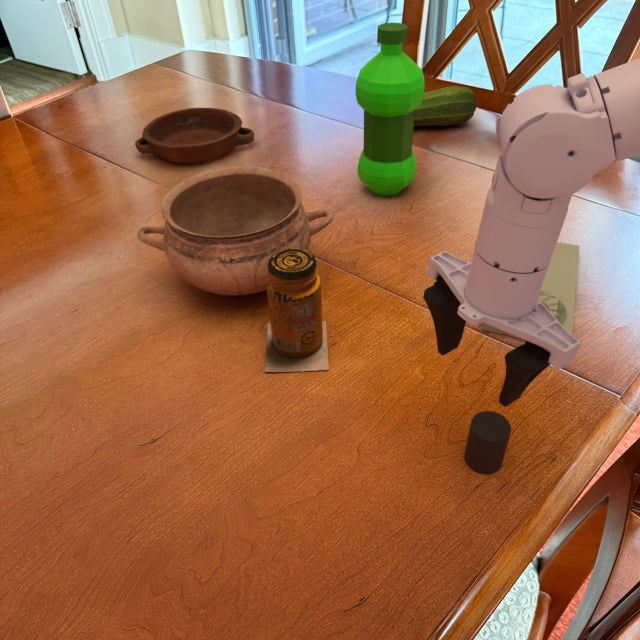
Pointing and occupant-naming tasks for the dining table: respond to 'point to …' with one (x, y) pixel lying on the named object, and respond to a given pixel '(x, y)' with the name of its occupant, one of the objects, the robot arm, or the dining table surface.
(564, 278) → the plate
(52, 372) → the dining table surface
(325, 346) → the condiment
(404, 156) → the plastic bottle
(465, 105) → the vegetable
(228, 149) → the dish
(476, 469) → the stopper
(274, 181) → the cooking pot
